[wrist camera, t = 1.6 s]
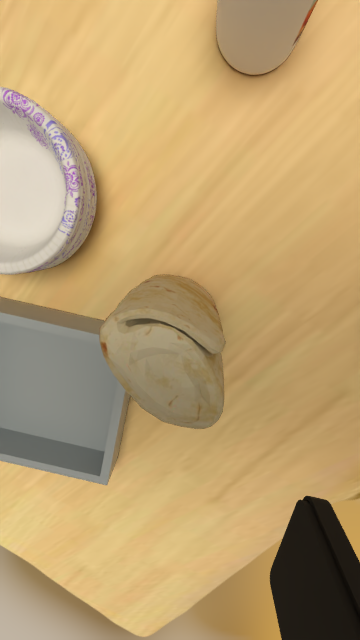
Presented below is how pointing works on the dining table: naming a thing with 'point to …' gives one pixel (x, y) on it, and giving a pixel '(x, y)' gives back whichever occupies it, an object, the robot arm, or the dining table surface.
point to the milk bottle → (260, 31)
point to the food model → (168, 350)
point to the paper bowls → (40, 188)
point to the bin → (57, 393)
